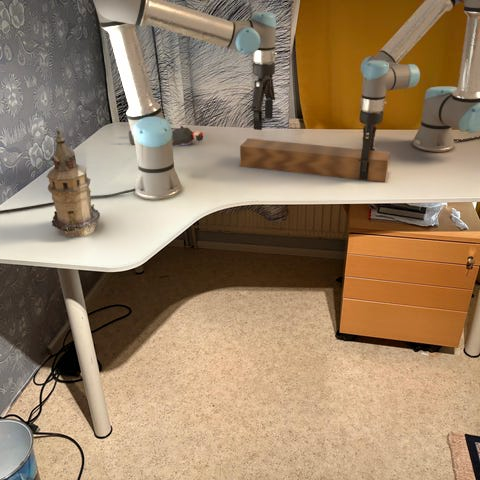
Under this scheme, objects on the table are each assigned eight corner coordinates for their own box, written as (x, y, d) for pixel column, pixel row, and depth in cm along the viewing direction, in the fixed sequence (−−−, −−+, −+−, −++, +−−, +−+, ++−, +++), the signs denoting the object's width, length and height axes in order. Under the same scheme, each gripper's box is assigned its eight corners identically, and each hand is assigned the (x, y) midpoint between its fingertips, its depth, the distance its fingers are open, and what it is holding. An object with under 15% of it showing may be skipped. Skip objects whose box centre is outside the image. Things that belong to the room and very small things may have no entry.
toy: (143, 119, 231) (210, 119, 225) (145, 133, 234) (211, 133, 228) (119, 138, 209) (193, 139, 203) (122, 153, 212) (195, 154, 206)
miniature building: (80, 214, 164) (63, 117, 149) (111, 225, 157) (96, 125, 142) (44, 231, 154) (22, 130, 140) (75, 244, 147) (55, 139, 133)
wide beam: (240, 165, 197) (240, 146, 193) (247, 157, 204) (247, 138, 200) (385, 182, 182) (387, 161, 178) (387, 172, 189) (390, 152, 186)
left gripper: (264, 70, 169) (263, 135, 180) (284, 55, 190) (282, 114, 200) (241, 69, 171) (242, 133, 182) (263, 54, 192) (263, 113, 202)
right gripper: (380, 120, 167) (372, 187, 178) (386, 102, 184) (379, 164, 195) (355, 118, 169) (349, 184, 180) (364, 101, 186) (358, 162, 198)
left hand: (263, 123), depth 191 cm, fingers open, 13 cm apart
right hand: (364, 173), depth 188 cm, fingers closed on wide beam, 9 cm apart
